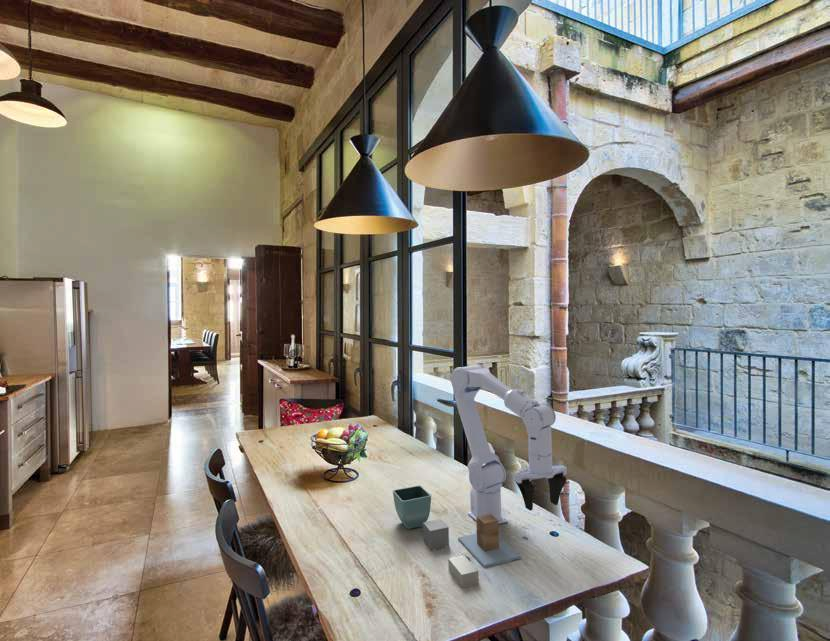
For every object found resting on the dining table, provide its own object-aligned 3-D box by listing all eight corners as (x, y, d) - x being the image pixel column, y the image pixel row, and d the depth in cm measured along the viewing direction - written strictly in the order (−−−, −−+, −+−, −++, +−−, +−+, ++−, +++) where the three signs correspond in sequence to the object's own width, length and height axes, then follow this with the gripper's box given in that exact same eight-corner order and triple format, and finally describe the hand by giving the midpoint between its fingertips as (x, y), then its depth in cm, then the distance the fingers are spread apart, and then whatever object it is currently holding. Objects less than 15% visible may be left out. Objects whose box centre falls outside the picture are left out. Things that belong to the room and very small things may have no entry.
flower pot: (392, 520, 129) (391, 489, 128) (421, 515, 132) (420, 484, 132) (402, 534, 120) (401, 501, 120) (432, 528, 123) (432, 495, 123)
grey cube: (423, 541, 116) (423, 522, 116) (441, 537, 118) (440, 518, 118) (430, 550, 112) (430, 530, 112) (449, 546, 114) (448, 527, 113)
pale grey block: (448, 571, 103) (448, 558, 103) (464, 567, 104) (464, 554, 104) (462, 588, 96) (461, 574, 96) (478, 584, 98) (478, 570, 98)
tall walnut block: (477, 543, 113) (476, 516, 113) (491, 540, 114) (490, 513, 114) (484, 551, 109) (484, 523, 109) (499, 548, 111) (498, 520, 111)
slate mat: (458, 539, 117) (458, 537, 117) (491, 532, 120) (491, 530, 120) (484, 567, 103) (484, 565, 103) (521, 558, 107) (521, 555, 107)
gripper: (524, 461, 107) (526, 518, 107) (574, 453, 112) (575, 507, 112) (509, 453, 114) (510, 506, 114) (556, 446, 119) (557, 496, 119)
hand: (541, 506), depth 114 cm, fingers open, 7 cm apart
